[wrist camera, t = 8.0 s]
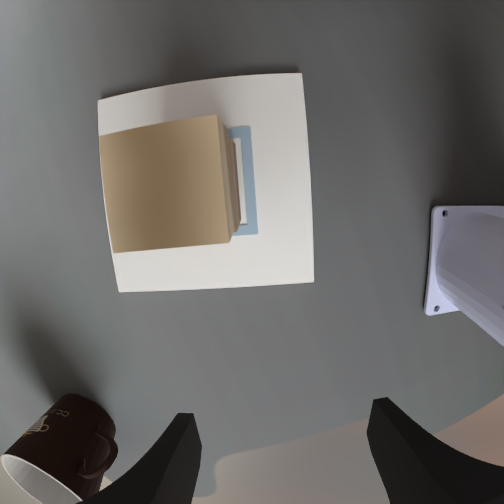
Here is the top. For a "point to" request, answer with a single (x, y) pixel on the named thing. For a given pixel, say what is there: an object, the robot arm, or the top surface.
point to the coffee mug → (64, 452)
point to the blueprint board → (249, 180)
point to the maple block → (168, 185)
